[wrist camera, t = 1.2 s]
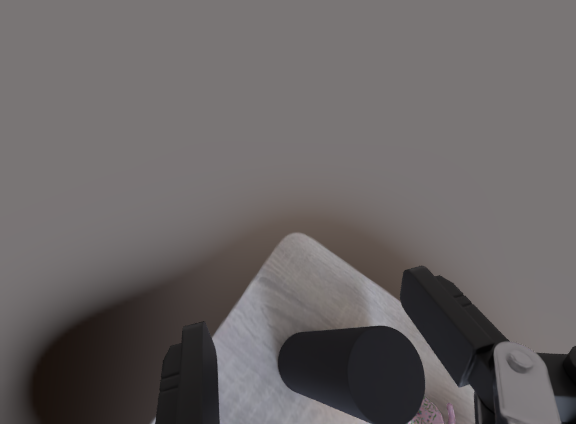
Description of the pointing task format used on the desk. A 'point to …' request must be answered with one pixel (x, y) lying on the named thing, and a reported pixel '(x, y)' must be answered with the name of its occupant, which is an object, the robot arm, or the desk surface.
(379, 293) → the desk surface
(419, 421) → the rabbit figure
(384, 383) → the cylinder with tan block
